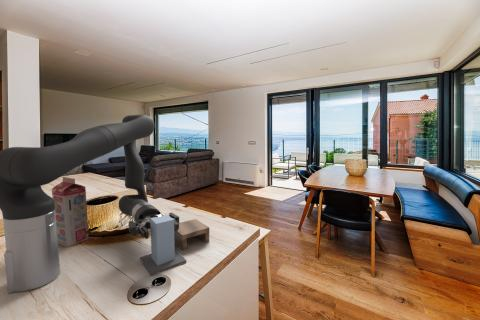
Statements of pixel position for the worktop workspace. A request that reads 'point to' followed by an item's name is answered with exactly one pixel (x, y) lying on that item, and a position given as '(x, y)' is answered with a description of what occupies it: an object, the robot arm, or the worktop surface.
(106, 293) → the worktop surface
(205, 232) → the riser
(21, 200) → the robot arm
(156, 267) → the coaster
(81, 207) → the juice carton
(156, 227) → the block
